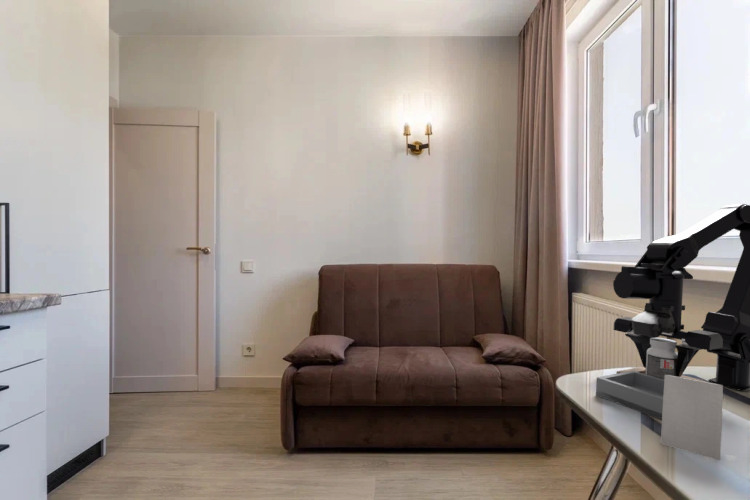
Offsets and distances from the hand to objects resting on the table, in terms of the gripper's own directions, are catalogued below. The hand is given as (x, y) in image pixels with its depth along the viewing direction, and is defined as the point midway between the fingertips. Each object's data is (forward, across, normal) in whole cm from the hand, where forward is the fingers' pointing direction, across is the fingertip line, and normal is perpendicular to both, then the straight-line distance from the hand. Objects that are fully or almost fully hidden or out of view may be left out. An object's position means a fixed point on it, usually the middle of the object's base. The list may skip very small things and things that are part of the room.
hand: (661, 371), depth 87 cm
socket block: (+3, 0, 0) cm, 3 cm away
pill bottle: (+3, 0, 0) cm, 3 cm away
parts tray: (+3, +4, -13) cm, 14 cm away
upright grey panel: (+3, +17, -26) cm, 31 cm away
